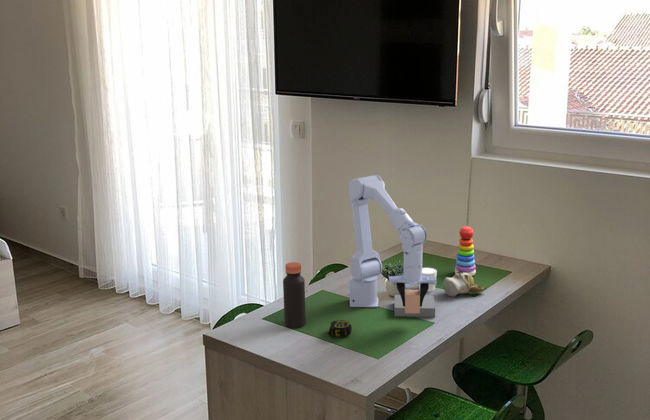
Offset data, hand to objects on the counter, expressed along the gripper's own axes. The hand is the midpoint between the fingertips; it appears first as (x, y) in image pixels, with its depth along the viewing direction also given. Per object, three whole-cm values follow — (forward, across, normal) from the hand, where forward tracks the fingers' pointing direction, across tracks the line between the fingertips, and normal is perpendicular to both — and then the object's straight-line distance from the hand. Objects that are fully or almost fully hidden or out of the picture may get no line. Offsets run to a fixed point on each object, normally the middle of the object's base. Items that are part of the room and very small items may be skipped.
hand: (412, 305), depth 217 cm
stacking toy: (+7, +21, +47) cm, 52 cm away
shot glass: (+7, +6, +31) cm, 32 cm away
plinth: (+7, +1, +12) cm, 14 cm away
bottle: (+7, -37, -1) cm, 38 cm away
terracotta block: (+2, 0, 0) cm, 2 cm away
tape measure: (+7, -23, -8) cm, 25 cm away
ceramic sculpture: (+7, +18, +28) cm, 34 cm away
